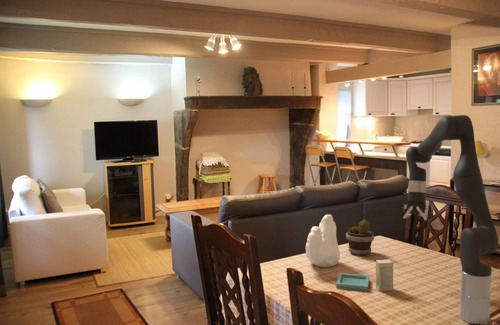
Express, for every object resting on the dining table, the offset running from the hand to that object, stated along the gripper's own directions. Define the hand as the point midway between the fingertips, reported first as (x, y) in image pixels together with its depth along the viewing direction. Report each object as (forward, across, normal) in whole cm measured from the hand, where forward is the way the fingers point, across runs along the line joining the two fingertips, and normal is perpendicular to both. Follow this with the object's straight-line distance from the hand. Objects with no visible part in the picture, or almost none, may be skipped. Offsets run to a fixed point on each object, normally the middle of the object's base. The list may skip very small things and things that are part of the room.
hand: (415, 228), depth 186 cm
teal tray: (+26, -19, -18) cm, 37 cm away
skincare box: (+26, -6, -14) cm, 31 cm away
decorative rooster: (+23, -44, -9) cm, 50 cm away
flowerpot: (+17, -39, +22) cm, 48 cm away
